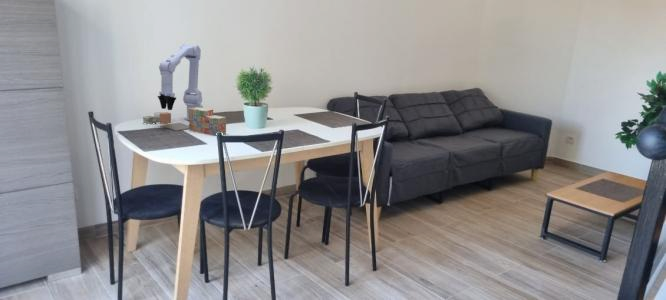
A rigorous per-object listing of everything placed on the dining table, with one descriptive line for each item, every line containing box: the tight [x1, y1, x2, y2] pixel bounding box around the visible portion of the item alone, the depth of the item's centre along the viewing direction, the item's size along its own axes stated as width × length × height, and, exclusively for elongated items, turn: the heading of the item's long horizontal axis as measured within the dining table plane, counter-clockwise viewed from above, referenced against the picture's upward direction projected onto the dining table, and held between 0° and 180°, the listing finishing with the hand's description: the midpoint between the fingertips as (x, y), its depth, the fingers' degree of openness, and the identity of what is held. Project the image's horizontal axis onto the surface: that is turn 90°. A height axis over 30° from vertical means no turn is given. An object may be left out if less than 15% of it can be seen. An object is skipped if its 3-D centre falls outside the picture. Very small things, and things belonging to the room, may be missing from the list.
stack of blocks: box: [188, 107, 227, 136], centre depth 256 cm, size 21×6×12 cm, turn 59°
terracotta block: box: [159, 111, 172, 125], centre depth 276 cm, size 4×4×6 cm
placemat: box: [160, 122, 189, 132], centre depth 267 cm, size 12×16×1 cm
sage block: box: [142, 115, 157, 125], centre depth 274 cm, size 5×5×4 cm
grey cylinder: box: [153, 111, 163, 123], centre depth 280 cm, size 5×5×5 cm
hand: (166, 109), depth 262 cm, fingers open, 7 cm apart
